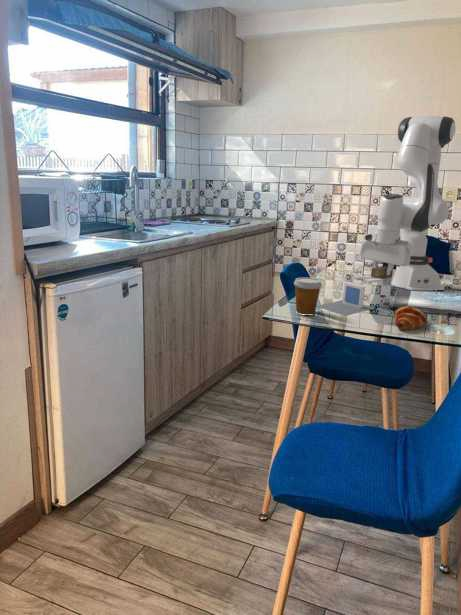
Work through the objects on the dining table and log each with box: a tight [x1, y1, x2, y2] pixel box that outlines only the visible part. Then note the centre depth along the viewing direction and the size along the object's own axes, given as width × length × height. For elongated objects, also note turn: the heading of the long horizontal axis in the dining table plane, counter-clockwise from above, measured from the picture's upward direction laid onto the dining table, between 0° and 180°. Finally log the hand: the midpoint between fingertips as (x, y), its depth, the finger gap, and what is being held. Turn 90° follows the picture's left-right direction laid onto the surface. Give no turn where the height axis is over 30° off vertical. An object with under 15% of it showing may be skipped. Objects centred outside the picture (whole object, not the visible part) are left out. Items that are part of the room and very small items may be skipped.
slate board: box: [316, 299, 376, 317], centre depth 186 cm, size 18×14×1 cm
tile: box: [342, 281, 366, 308], centre depth 187 cm, size 2×8×8 cm, turn 40°
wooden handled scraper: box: [354, 265, 395, 284], centre depth 193 cm, size 7×18×4 cm, turn 130°
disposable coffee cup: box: [293, 276, 323, 315], centre depth 176 cm, size 10×10×12 cm
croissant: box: [394, 305, 427, 331], centre depth 170 cm, size 21×10×8 cm, turn 147°
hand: (382, 273), depth 196 cm, fingers closed on wooden handled scraper, 3 cm apart
